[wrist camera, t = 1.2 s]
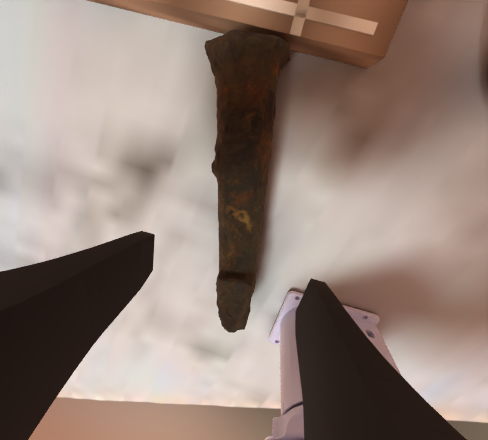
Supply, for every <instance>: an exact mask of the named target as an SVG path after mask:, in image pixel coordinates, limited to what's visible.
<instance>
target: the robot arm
mask: <svg viewBox="0 0 488 440" xmlns="http://www.w3.org/2000/svg"><path fill="white" fill-rule="evenodd" d="M154 236H155V235H154V234H151V233H147V232H143V231H140V232H136V233H133V234H130V235H127V236H124V237H121V238H118V239H115V240H113V241H110V242H107V243H104V244H101V245H98V246H95V247H92V248H89V249H86V250H82V251H79V252H76V253H72V254H69V255H66V256H63V257H59V258H56V259H52V260H49V261H45V262H41V263H37V264H33V265H29V266H24V267H20V268H16V269H11V270H7V271H2V272H0V440H28V439H29V437H30V436H31V434H32V433H33V431H34V430H35V428H36V427H37V425H38V424H39V422H40V421H41V419H42V418H43V416H44V415H45V413H46V412H47V410H48V409H49V407H50V405H51V404H52V403H53V401H54V400H55V398H56V397H57V395H58V394H59V392H60V391H61V389H62V388H63V387H64V385H65V384H66V382H67V381H68V379H69V378H70V376H71V375H72V374H73V372H74V371H75V369H76V368H77V367H78V365H79V364H80V362H81V361H82V360H83V358H84V357H85V355H86V354H87V353H88V351H89V350H90V349H91V347H92V346H93V344H94V343H95V342H96V341H97V339H98V338H99V337H100V336H101V334H102V333H103V332H104V331H105V330H106V329H107V327H108V326H109V325H110V324H111V323H112V322H113V320H114V319H115V318H116V317H117V316H118V315H119V314H120V312H121V311H122V310H123V309H124V308H125V307H126V305H127V304H128V303H129V302H130V301H131V300H132V298H133V297H134V296H135V295H136V294H137V292H138V291H139V290H140V289H141V287H142V286H143V284H144V283H145V281H146V280H147V278H148V277H149V275H150V274H151V272H152V271H153V255H154ZM296 296H298V298H297V297H296ZM379 321H380V318H379V316H378V315H376V314H373V313H370V312H366V311H362V310H359V309H355V308H352V307H348V306H345V305H342V304H341V303H340V301H339V300H338V299H337V297H336V296H335V295H334V293H333V292H332V291H331V290H330V288H329V287H328V286H327V285H326V283H325V282H322V281H318V280H314V279H311V280H310V282H309V284H308V286H307V288H306V290H305V292H304V294H303V293H299V292H296V291H289V292H288V294H287V296H286V298H285V300H284V303H283V305H282V307H281V310H280V312H279V314H278V317H277V319H276V321H275V324H274V326H273V328H272V331H271V333H270V335H269V341H270V342H271V343H274V344H277V345H280V371H281V417H276V418H273V436H268V437H267V438H265V439H264V440H466V439H465V438H464V437H463V436H462V435H461V434H460V433H459V432H458V431H456V430H455V429H454V428H453V427H452V426H451V425H450V424H449V423H448V422H447V421H446V420H445V419H444V418H443V417H442V416H441V415H440V414H439V413H438V412H437V411H436V410H435V409H434V408H433V407H431V406H430V405H429V404H428V403H427V402H426V401H425V400H424V399H423V398H422V397H421V396H420V395H419V394H418V393H417V392H416V391H415V390H414V389H413V388H412V387H411V385H410V384H409V383H408V382H407V381H406V380H405V379H404V378H403V377H402V376H401V374H400V372H399V370H398V368H397V366H396V364H395V362H394V360H393V358H392V356H391V354H390V352H389V350H388V348H387V346H386V344H385V342H384V340H383V338H382V336H381V334H380V332H379V330H378V328H377V326H376V325H377V324H378V323H379Z"/></svg>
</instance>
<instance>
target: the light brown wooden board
mask: <svg viewBox="0 0 488 440" xmlns="http://www.w3.org/2000/svg"><path fill="white" fill-rule="evenodd" d="M88 1H92V2H96V3H100V4H105V5H109V6H113V7H117V8H121V9H125V10H129V11H133V12H137V13H141V14H145V15H149V16H154V17H158V18H162V19H166V20H170V21H174V22H178V23H182V24H186V25H190V26H194V27H199V28H203V29H207V30H211V31H215V32H219V33H223V34H226V33H228V32H229V31H231V30H239V31H244V32H251V33H259V34H268V35H276V36H278V37H280V38H282V39H283V40H285V41H286V42H287V43H288V44H289V45H290V50H293V51H297V52H301V53H305V54H309V55H313V56H317V57H321V58H325V59H329V60H334V61H338V62H342V63H346V64H350V65H354V66H358V67H362V68H368V67H370V66H371V65H373V64H374V63H376V62H377V61H379V60H380V59H382V58H383V57H384V56H385V54H386V51H387V49H388V47H389V44H390V42H391V39H392V37H393V35H394V32H395V30H396V28H397V25H398V23H399V20H400V18H401V16H402V13H403V11H404V9H405V6H406V4H407V2H408V0H88Z"/></svg>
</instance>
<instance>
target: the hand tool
mask: <svg viewBox="0 0 488 440" xmlns="http://www.w3.org/2000/svg"><path fill="white" fill-rule="evenodd" d="M205 50H206V54H207V56H208V59H209V61H210V64H211V69H212V72H213V74H214V76H215V84H216V88H217V133H218V134H217V140H216V145H215V153H216V155H215V160H214V161H213V163H212V172H213V174H214V175H215V176H216V178H217V182H218V220H219V274H218V277H217V282H216V285H217V289H216V291H217V306H218V308H219V312H218V314H219V317H220V320H221V324H222V326H223V327H224V329H225V330H227V331H228V332H233V333H234V332H236V331H237V330H241V329H243V330H244V329H245V326H246V323H247V320H248V316H249V313H250V302H251V297H252V294H253V292H254V287H255V278H256V265H257V257H258V249H259V241H260V233H261V225H262V218H263V210H264V200H265V194H266V184H267V174H268V166H269V162H270V156H271V141H272V133H273V123H274V118H275V109H276V89H277V82H278V77H279V74H280V71H281V69H282V68H283V67H284V66H285V65H286V64H287V63H288V61H289V60H290V58H289V57H290V45H289V44H288V43H287V42H286V41H285V40H283V39H282V38H280V37H278V36H276V35H268V34H259V33H251V32H244V31H239V30H231V31H229V32H228V33H226V34H225V35H223V36H219V37H217V38H215V39H212V40H209V41H206V43H205Z"/></svg>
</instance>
